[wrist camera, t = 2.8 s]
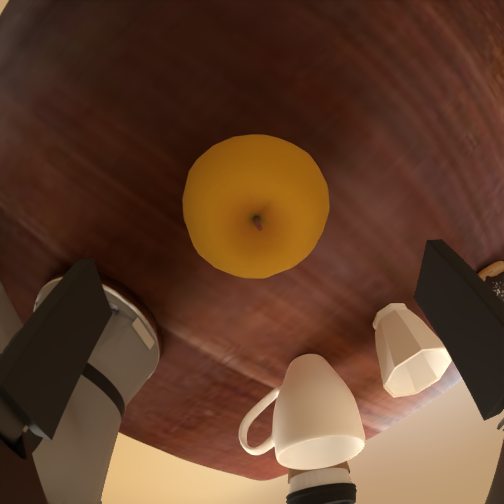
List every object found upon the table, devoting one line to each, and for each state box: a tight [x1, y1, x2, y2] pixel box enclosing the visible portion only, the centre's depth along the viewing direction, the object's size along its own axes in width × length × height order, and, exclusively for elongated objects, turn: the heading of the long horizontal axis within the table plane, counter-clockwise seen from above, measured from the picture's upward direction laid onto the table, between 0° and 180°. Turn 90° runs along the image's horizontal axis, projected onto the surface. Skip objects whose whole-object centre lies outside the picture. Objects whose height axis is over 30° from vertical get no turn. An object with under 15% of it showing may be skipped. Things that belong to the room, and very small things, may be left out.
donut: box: [478, 261, 504, 301], centre depth 27 cm, size 11×12×4 cm
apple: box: [182, 134, 330, 278], centre depth 19 cm, size 9×9×9 cm
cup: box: [372, 303, 452, 398], centre depth 26 cm, size 7×10×8 cm
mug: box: [239, 354, 365, 470], centre depth 27 cm, size 12×8×11 cm
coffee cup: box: [286, 461, 357, 504], centre depth 31 cm, size 8×8×15 cm
